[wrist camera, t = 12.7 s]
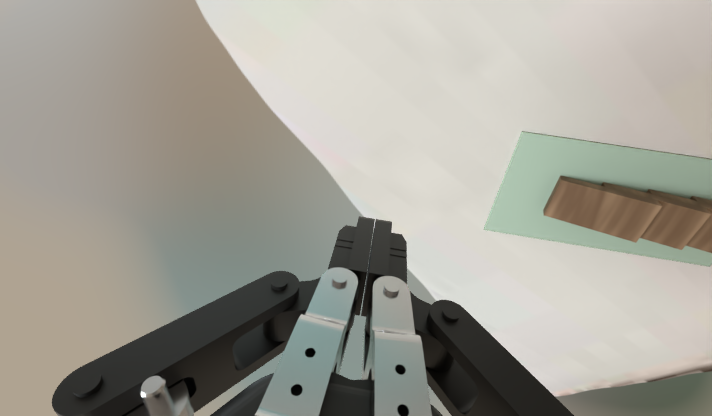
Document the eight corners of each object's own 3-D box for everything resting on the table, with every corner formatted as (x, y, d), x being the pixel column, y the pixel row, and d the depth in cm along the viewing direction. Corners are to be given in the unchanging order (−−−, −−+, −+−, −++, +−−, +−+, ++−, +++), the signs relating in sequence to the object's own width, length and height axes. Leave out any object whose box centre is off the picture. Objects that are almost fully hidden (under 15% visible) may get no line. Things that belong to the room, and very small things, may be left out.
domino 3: (628, 228, 40) (730, 258, 37) (652, 194, 38) (764, 222, 34) (625, 222, 41) (724, 251, 38) (648, 188, 39) (756, 216, 36)
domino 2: (584, 221, 40) (681, 250, 37) (605, 186, 38) (711, 214, 35) (583, 216, 42) (676, 242, 39) (603, 181, 39) (705, 207, 36)
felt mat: (483, 228, 45) (484, 230, 45) (522, 131, 38) (522, 132, 37) (707, 265, 43) (709, 266, 43) (793, 171, 36) (796, 172, 36)
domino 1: (543, 215, 41) (636, 242, 38) (561, 180, 38) (662, 206, 35) (543, 209, 42) (632, 235, 39) (560, 175, 39) (657, 200, 36)
